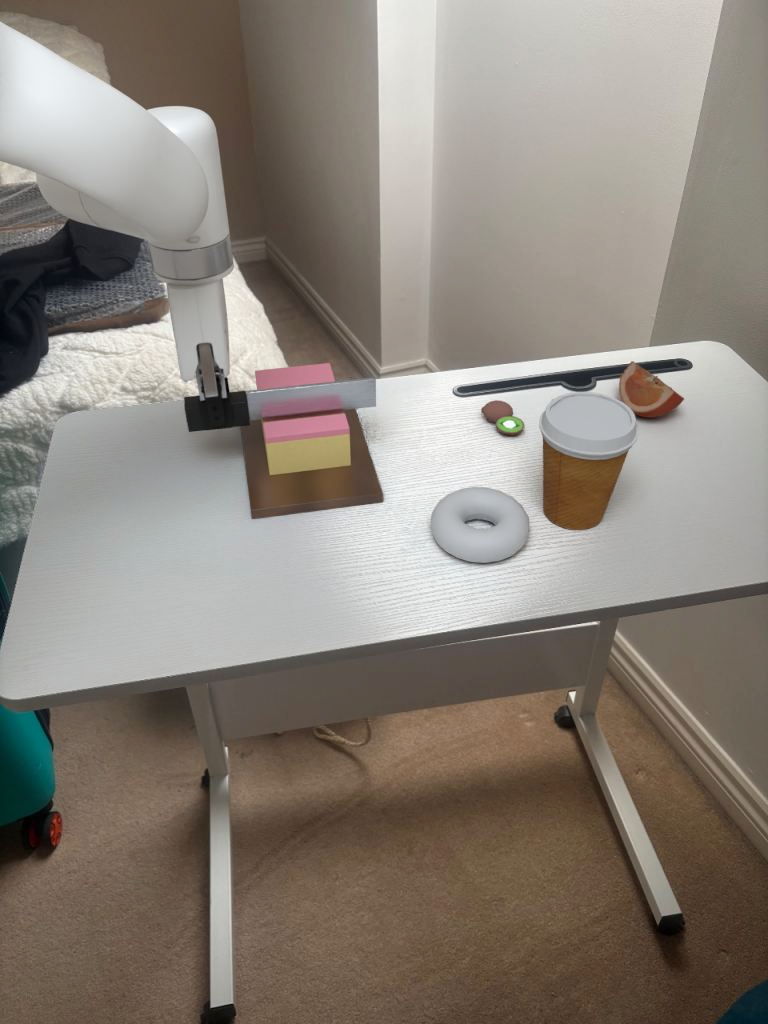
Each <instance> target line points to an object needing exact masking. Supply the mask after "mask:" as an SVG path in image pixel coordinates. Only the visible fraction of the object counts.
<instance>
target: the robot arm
mask: <svg viewBox="0 0 768 1024" xmlns="http://www.w3.org/2000/svg"><path fill="white" fill-rule="evenodd" d="M0 162H1V163H5V164H9V165H12V166H15V167H19V168H21V169H24V170H28V171H30V172H32V173H35V179H36V180H35V181H36V184H37V187H38V189H39V191H40V194H41V195H42V197H43V199H44V200H45V201H46V203H47V204H48V205H49V206H50V207H52V208H53V210H55V211H56V212H57V213H59V214H61V215H62V216H64V217H65V218H68V219H69V220H72V221H75V222H78V223H81V224H85V225H88V226H92V227H96V228H100V229H104V230H107V231H113V232H117V233H120V234H123V235H127V236H130V237H135V238H138V239H142V240H145V241H147V248H148V251H149V257H150V262H151V268H152V272H153V276H154V277H155V278H156V280H158V281H160V282H162V283H165V284H166V293H167V294H166V295H167V301H168V302H167V303H168V307H169V315H170V321H171V326H172V333H173V339H174V344H175V351H176V356H177V362H178V369H179V376H180V379H181V380H182V381H183V382H184V383H188V382H190V381H194V379H195V378H196V384H197V389H198V395H197V396H198V402H199V407H200V413H201V419H202V424H203V429H204V430H205V431H206V432H207V431H215V430H225V429H232V428H234V427H233V426H234V423H233V416H232V409H231V402H230V395H229V393H227V392H231V391H230V385H229V378H228V377H229V375H230V373H231V372H230V371H231V367H230V366H231V365H230V363H231V361H230V336H229V335H230V334H229V321H228V320H229V319H228V310H227V301H226V294H225V293H226V292H225V285H224V278H226V277H228V276H229V275H230V274H231V273H232V272H233V271H234V267H235V264H234V263H235V262H234V256H233V249H232V241H231V233H230V225H229V217H228V210H227V202H226V194H225V186H224V177H223V170H222V162H221V154H220V147H219V139H218V133H217V128H216V125H215V122H214V120H213V119H212V118H211V116H210V115H209V114H208V113H207V112H205V111H204V110H202V109H200V108H196V107H191V106H184V105H169V106H167V105H166V106H159V107H153V108H149V109H146V108H144V107H143V106H142V105H140V104H139V103H137V102H136V101H135V100H134V99H132V98H131V97H130V96H128V95H126V94H125V93H123V92H122V91H120V90H119V89H118V88H115V87H114V86H113V85H110V83H109V84H108V83H107V82H105V81H104V80H103V79H100V78H99V77H97V76H95V75H93V74H91V73H90V72H88V71H87V70H85V69H83V68H80V67H79V66H78V65H76V64H74V63H73V62H70V61H69V60H67V59H65V58H64V57H62V56H61V55H58V54H57V53H56V52H54V51H52V50H51V49H50V48H47V47H46V46H45V45H43V44H42V43H39V42H38V41H36V40H34V39H33V38H32V37H29V36H27V35H25V34H24V33H22V32H20V31H18V30H16V29H14V28H12V27H11V26H9V25H7V24H5V23H4V22H2V21H0Z"/></svg>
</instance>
